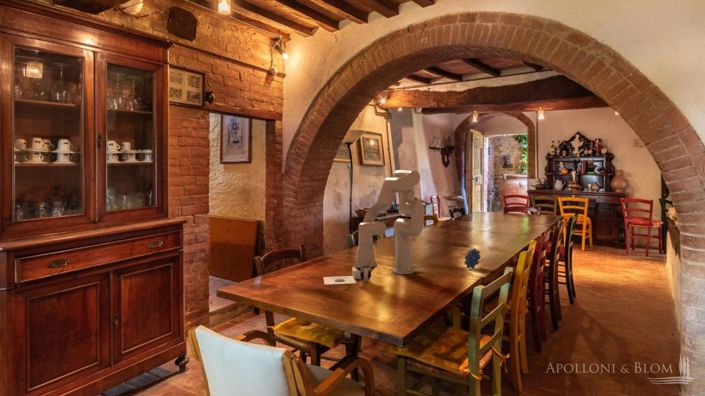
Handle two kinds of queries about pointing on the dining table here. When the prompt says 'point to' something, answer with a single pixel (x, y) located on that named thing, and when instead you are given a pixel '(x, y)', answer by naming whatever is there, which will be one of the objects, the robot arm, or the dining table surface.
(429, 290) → the dining table surface
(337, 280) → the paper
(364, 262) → the robot arm
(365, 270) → the marker
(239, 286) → the dining table surface
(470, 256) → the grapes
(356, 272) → the button housing
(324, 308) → the dining table surface
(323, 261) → the dining table surface
